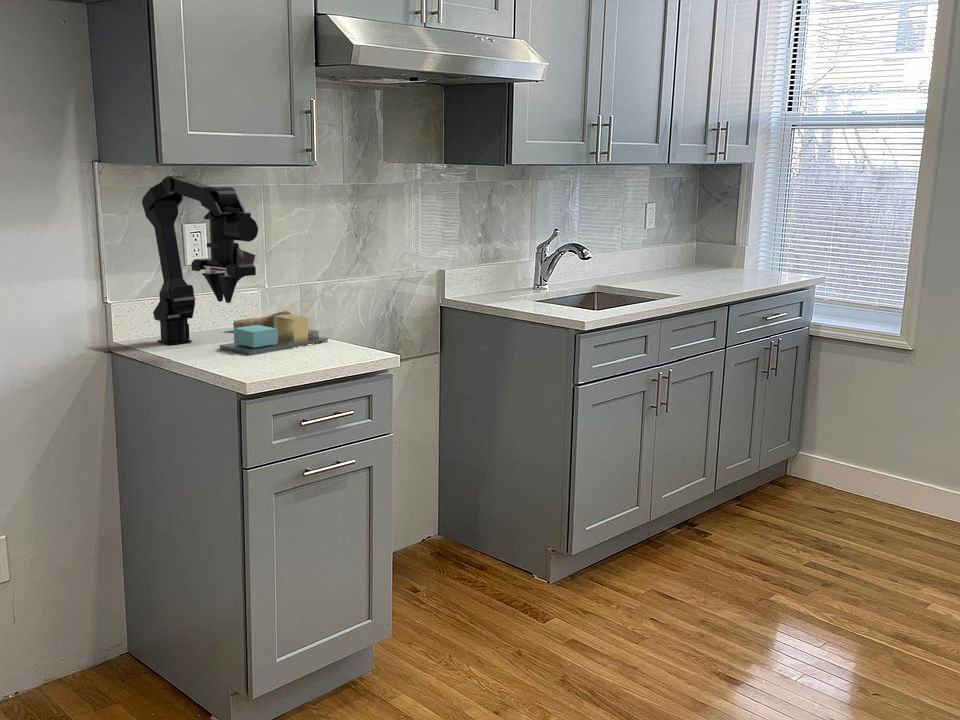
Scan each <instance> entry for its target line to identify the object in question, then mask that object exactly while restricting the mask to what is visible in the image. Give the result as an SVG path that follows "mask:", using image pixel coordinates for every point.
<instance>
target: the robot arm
mask: <svg viewBox="0 0 960 720" xmlns="http://www.w3.org/2000/svg"><path fill="white" fill-rule="evenodd" d="M184 197H186V198H189V199H192V200H195V201H198V202H199V203H200V205H201V207H203V208H205V209H207V210H208V212H207V213H206V214H205V215H204V217H203V219H204V220H209V221H208V222H209V240H210V241H209V242H206V248H209V250H210V257H207V258H195V259H193V260H192V261H191V263H190V264H191V271H193V272H200V271H202V270H203V271H204V272H203V273H201V275H202V276H203V277H204V278H205V280H206V281H207V284H208V285H209V287H210V289H211V290H212V292H213V294H214V296H215V298H216V300H217V301H218V302H219V303H220V302H223V301H224V300H225V303H226V304H231V302H232V300H233V299H232V298H233V296H234V292H235V289H236V287H237V284H238V282H239V281H240V280H241V279H242V278H244V277H250V276H256V275H257V270H256V269H257V268H256V265H254V262H255V259H256V256H257V255H256V254H253V253H251V252H248V251H245V250H242V249H241V248H240V244H239V242H235V241H241V242H252V241H254V240H255V239H256V238H257V237H258V233H259V226H258V225H257V222H256V220H255V219H253V217H252V216H251V215H252V214H251V212H247V211H246V210H245V207H244V206H243V204H242V202H241V200H240V198H239V196H238V194H237V192H236V189H235V188H234V187H232V186H213V185H211V186H210V185H208V184H204V183H202V182H198V181H195V180H192V179H189V178H186V177H184V176H182V175H167V176H165V177H164V178H163V179H162V180H161V182H159V183H157V184H155V185H153V186H152V187H149V189H148V190H147V192H146V193H145V194H144V196H143V197H142V199H141V205H142V208H143V211H144V215H145V217H146V219H147V220H148V222H150V224H151V225H152V226H153V227H154V234H155V238H156V239H155V240H156V245H157V251H158V255H159V263H160V268H161V274H162V280H163V284H162V285H161V288H160V290H159V293H158V294H159V302H158V304H157V305H156V307H155V309H153V312H152V314H153V319H154V320H155V321H159V326H160V327H159V328H160V339H157V343H161V344H165V345H169V346H170V345H171V346H173V345H180V344H186V343H192V342H193V340H192V339H190V324H189V323H188V319H193V317H194V312H195V307H196V297H195V293H194V287H193V286H194V285H192V284H188V283H187V282H186V281H185V279H184V275H183V268H182V262H181V257H180V251H179V246H178V239H177V234H176V228H175V223H176V220H177V219H178V215H179V206H180V204H181V203H182V202H183V201H184Z"/></svg>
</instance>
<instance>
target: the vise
mask: <svg viewBox="0 0 960 720" xmlns="http://www.w3.org/2000/svg"><path fill="white" fill-rule="evenodd" d="M319 332H320V331H319V330H317V329H312V328H308V340H304V341H298V342H291V341H286V340H281V339H278V341H277V344H273V345H267V346H261V347H255V348H253V347H248V346H244V345H239V344H235V343H234V342H231V343H225V344H219V350H224V351H227V352H231V353H235V354H236V353H237V354H241V355H246V356H254V355H260V354H266V353H267V354H268V353H271V352H272V353H273V352H277V351H283V350H289V348H290V349H295V348H294V347H296V348H299V347H298V346H302V347H304V346H303V345H307V346H309V345H308V344H313V343H319V342H325V341H326V340H327V342H325V343H328V342H329V338H328V337H325V336H324V337H322V336H319V335H320V334H319ZM319 344H320V343H319ZM313 345H314V344H313Z"/></svg>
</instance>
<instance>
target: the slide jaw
mask: <svg viewBox="0 0 960 720" xmlns="http://www.w3.org/2000/svg"><path fill="white" fill-rule="evenodd" d="M277 341H278V335H277V328H272V327H267V326H261V325H252V326H245V327H238V328H234V327H233V343H235V344H239V345H244V346H248V347H253V348H255V347H261V346H267V345H273V344H277Z"/></svg>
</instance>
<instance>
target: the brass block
mask: <svg viewBox="0 0 960 720" xmlns="http://www.w3.org/2000/svg"><path fill="white" fill-rule="evenodd" d="M291 314H292V313H291ZM291 314H285V315H278V316H274V328H277V335H278V339H281V340H286V341H291V342H298V341H304V340H308V329H309V317H307V316H302V315H295V314H292V315H291Z"/></svg>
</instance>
